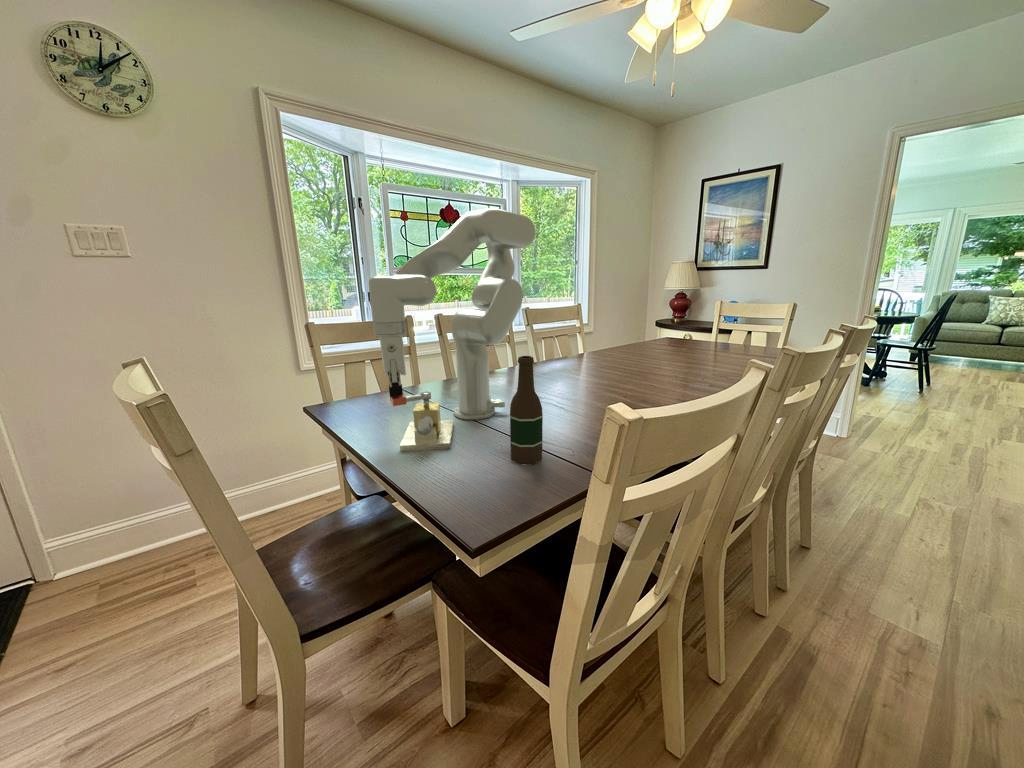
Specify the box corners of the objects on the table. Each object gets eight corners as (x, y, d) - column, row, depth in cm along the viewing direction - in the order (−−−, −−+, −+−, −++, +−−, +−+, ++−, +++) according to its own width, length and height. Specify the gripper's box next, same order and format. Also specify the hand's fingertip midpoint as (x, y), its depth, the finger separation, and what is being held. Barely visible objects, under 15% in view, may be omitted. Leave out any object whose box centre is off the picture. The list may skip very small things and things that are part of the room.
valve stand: (453, 424, 113) (451, 389, 110) (450, 448, 97) (447, 408, 94) (410, 426, 112) (407, 391, 109) (400, 451, 96) (396, 410, 93)
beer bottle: (517, 468, 87) (516, 362, 81) (504, 454, 94) (502, 355, 87) (548, 461, 90) (550, 358, 84) (533, 448, 97) (533, 352, 90)
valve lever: (429, 397, 103) (428, 390, 103) (432, 399, 101) (432, 392, 101) (391, 403, 99) (390, 396, 98) (393, 406, 96) (392, 399, 96)
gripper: (407, 332, 90) (413, 408, 95) (404, 324, 104) (410, 391, 109) (372, 334, 88) (380, 411, 93) (374, 325, 102) (382, 393, 107)
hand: (396, 400), depth 101 cm, fingers closed
